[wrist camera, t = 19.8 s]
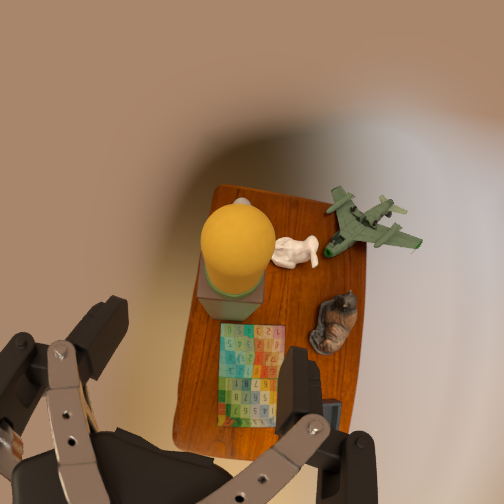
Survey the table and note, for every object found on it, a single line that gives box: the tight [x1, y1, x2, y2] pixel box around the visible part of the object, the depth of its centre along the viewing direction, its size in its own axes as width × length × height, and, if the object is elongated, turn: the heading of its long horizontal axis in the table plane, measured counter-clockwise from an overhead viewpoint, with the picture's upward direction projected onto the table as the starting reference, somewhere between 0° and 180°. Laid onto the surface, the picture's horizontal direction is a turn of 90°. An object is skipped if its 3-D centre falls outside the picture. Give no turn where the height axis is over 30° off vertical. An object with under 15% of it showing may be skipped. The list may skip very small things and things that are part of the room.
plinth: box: [197, 253, 265, 322], centre depth 39 cm, size 6×6×30 cm
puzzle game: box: [217, 323, 285, 427], centre depth 48 cm, size 12×5×20 cm
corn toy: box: [201, 203, 276, 300], centre depth 20 cm, size 5×5×11 cm
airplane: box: [325, 186, 422, 257], centre depth 59 cm, size 24×23×10 cm
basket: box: [278, 399, 342, 441], centre depth 45 cm, size 11×11×4 cm
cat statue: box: [310, 290, 358, 355], centre depth 49 cm, size 12×7×10 cm, turn 164°
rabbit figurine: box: [271, 236, 319, 269], centre depth 53 cm, size 12×8×10 cm, turn 88°
